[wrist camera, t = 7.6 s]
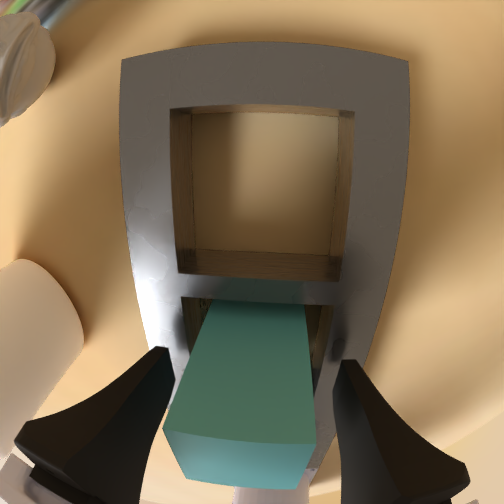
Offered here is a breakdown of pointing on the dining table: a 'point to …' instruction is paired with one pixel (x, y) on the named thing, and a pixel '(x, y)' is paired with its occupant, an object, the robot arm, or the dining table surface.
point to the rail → (259, 263)
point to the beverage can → (32, 343)
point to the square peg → (246, 398)
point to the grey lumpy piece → (23, 63)
